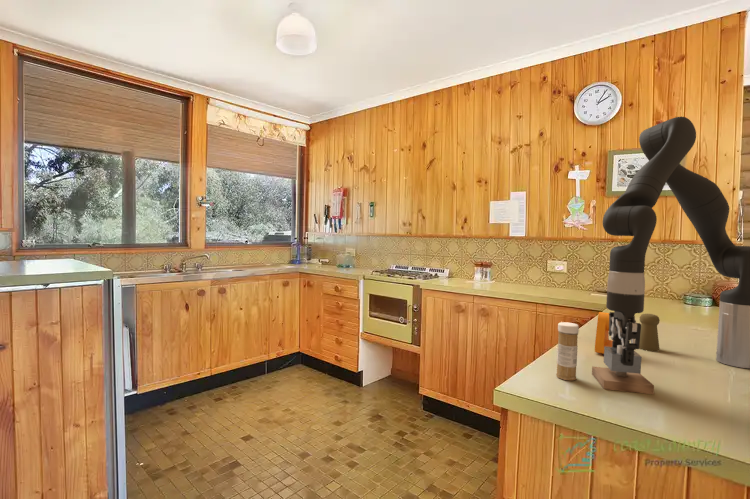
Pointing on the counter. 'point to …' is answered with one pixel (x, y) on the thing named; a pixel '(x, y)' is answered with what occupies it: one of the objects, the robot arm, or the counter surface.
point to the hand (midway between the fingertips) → (622, 360)
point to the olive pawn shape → (649, 332)
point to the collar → (620, 361)
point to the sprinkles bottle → (567, 351)
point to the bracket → (602, 333)
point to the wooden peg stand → (622, 379)
